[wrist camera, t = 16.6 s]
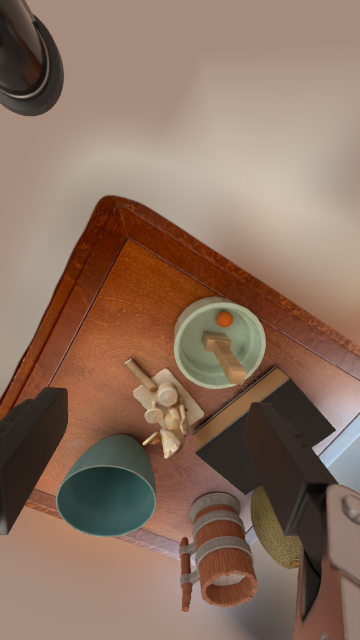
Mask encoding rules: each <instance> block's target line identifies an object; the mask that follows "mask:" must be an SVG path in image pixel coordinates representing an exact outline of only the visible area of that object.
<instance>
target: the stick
mask: <svg viewBox="0 0 360 640" xmlns="http://www.w3.org/2000/svg"><path fill="white" fill-rule="evenodd" d="M202 343H203V346H204V348H205V350H206V351H210V352H214V354H215V356H216V358H217V360H218V362H219V364H220V366H221V368H222V370H223V372H224V374H225V376H226V378H227V380H228V382H229V383H230V384H240V385H243V384H244V380H245V376H246V370H245V369H244V368H243V366H242V365H241V364H240V362H239V361H238V359H237V358H236V357H235V355H234V354H233V353H232V351H231V350H230V347H231V343H232V342H231V340H230V339H229V338H228V337H227V335H226V334H225V333H219V332H211V331H203V337H202Z"/></svg>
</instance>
